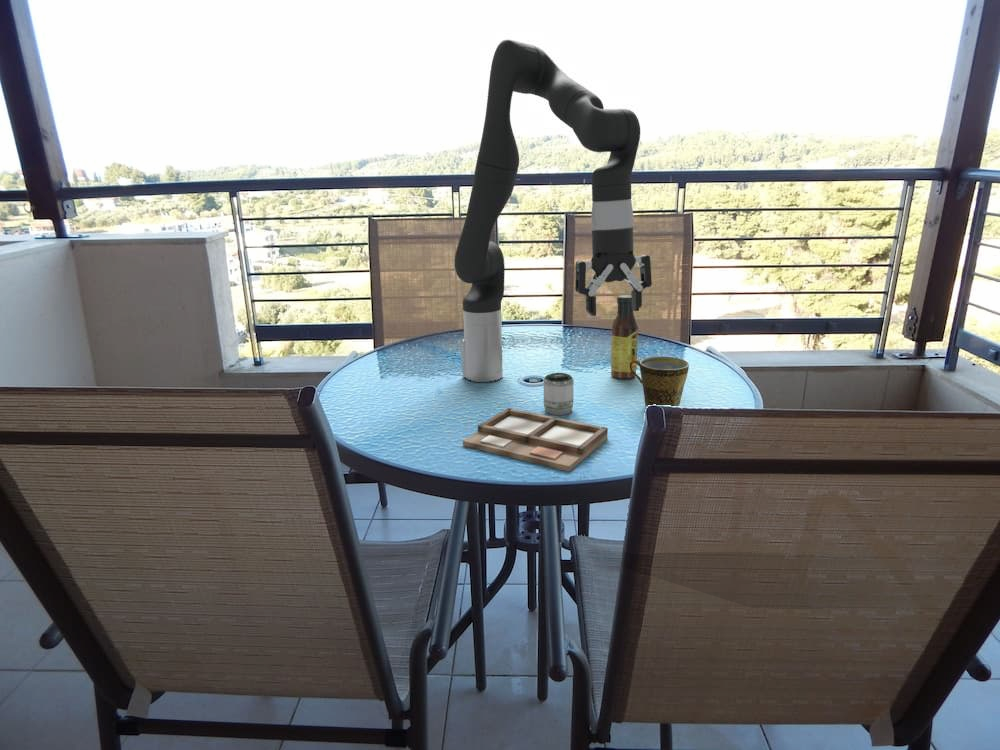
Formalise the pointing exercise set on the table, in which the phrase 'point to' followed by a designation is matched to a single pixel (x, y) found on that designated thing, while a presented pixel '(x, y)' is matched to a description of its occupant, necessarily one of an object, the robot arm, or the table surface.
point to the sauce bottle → (624, 340)
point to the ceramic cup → (662, 379)
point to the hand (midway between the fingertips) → (614, 312)
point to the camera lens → (558, 393)
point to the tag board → (537, 438)
